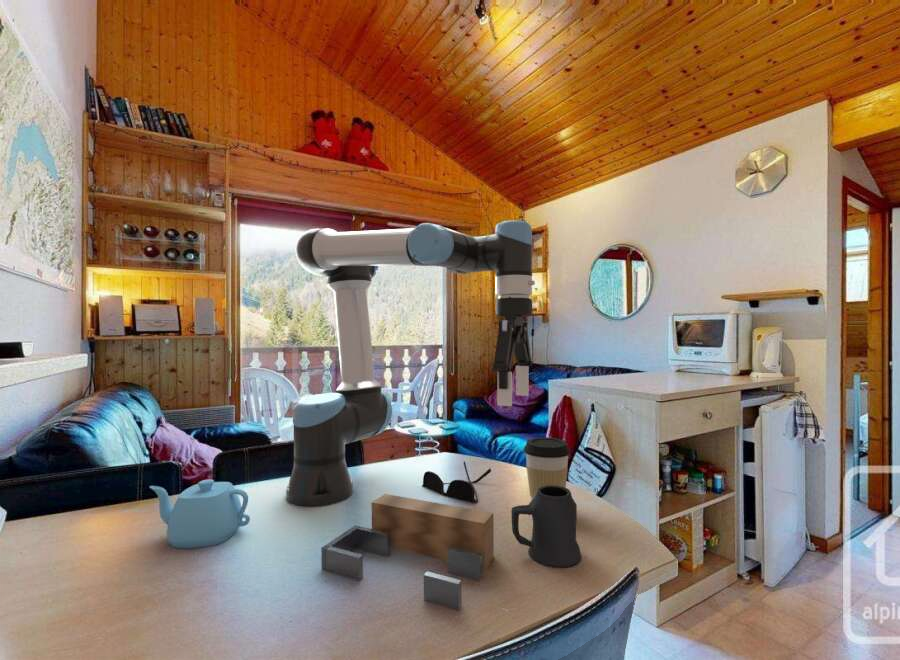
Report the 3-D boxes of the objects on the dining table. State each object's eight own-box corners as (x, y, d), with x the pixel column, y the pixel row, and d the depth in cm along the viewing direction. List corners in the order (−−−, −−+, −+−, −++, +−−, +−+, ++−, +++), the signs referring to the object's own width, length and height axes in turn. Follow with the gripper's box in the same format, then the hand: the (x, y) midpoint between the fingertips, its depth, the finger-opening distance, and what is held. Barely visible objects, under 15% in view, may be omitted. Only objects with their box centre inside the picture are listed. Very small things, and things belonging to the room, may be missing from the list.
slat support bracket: (321, 572, 72) (321, 547, 72) (355, 547, 80) (355, 525, 80) (359, 583, 69) (358, 557, 69) (390, 556, 77) (390, 533, 77)
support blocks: (423, 602, 64) (423, 574, 64) (450, 571, 72) (450, 546, 72) (458, 612, 62) (458, 584, 62) (482, 579, 70) (481, 553, 70)
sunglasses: (507, 489, 109) (507, 469, 109) (471, 507, 98) (471, 485, 98) (455, 475, 120) (455, 456, 120) (418, 490, 109) (417, 469, 109)
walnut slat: (371, 545, 81) (371, 502, 81) (385, 535, 85) (384, 493, 85) (484, 572, 72) (484, 523, 72) (493, 559, 76) (493, 512, 76)
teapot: (166, 472, 90) (259, 468, 92) (166, 525, 90) (259, 520, 92) (129, 496, 77) (237, 490, 79) (130, 557, 77) (238, 550, 79)
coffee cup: (566, 503, 99) (566, 437, 99) (574, 523, 89) (574, 448, 89) (522, 502, 100) (522, 436, 100) (525, 521, 90) (525, 448, 90)
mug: (569, 540, 82) (569, 480, 82) (590, 567, 73) (590, 499, 73) (506, 545, 81) (505, 483, 81) (519, 572, 72) (519, 503, 72)
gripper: (515, 292, 78) (515, 412, 79) (544, 300, 101) (544, 392, 102) (476, 294, 81) (476, 409, 82) (512, 301, 104) (512, 391, 105)
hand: (514, 400), depth 92 cm, fingers open, 13 cm apart
